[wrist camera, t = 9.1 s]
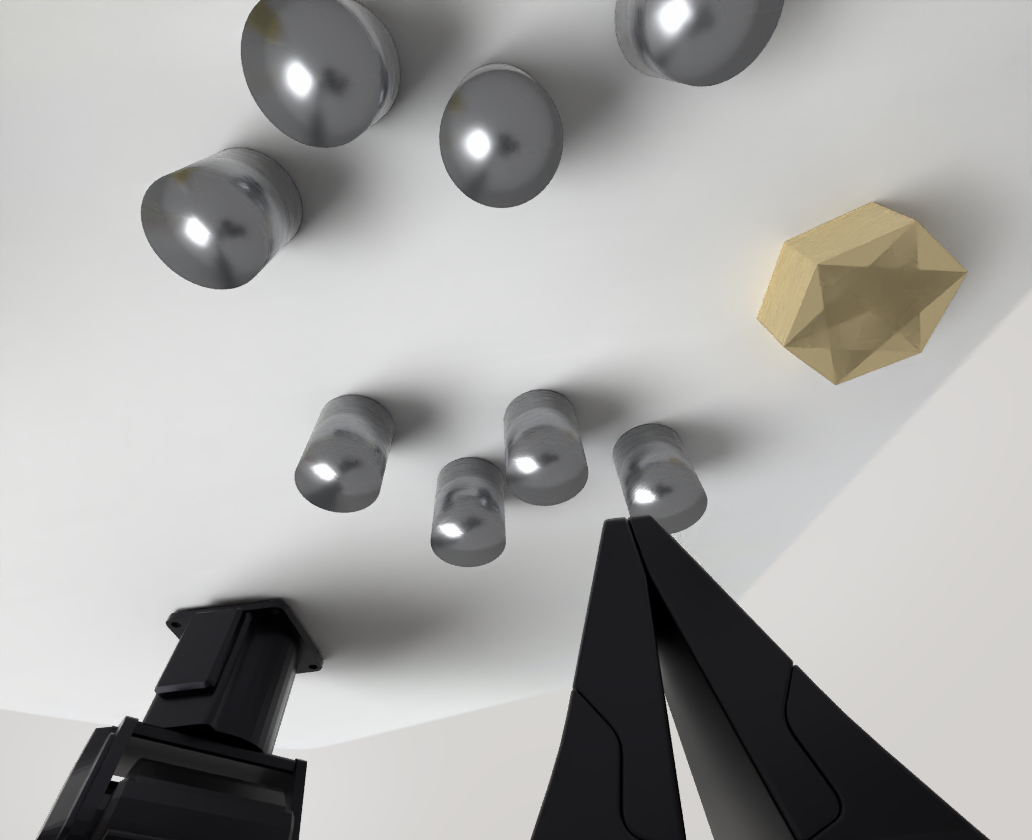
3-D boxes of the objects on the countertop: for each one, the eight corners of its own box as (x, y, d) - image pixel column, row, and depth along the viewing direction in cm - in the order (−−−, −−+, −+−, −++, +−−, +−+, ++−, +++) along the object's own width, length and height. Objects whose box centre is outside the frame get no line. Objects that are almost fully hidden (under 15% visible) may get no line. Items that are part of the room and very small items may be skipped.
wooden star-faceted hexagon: (919, 306, 20) (966, 335, 18) (767, 367, 21) (794, 400, 19) (915, 179, 17) (969, 197, 15) (741, 259, 19) (770, 284, 17)
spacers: (689, 478, 24) (715, 536, 22) (352, 522, 25) (335, 584, 22) (731, -74, 13) (797, -104, 11) (125, 33, 14) (34, 32, 11)
